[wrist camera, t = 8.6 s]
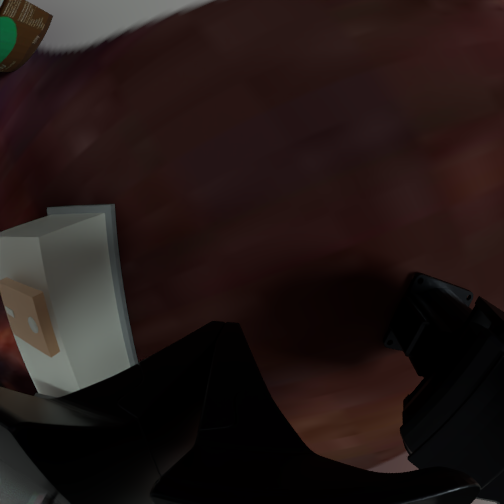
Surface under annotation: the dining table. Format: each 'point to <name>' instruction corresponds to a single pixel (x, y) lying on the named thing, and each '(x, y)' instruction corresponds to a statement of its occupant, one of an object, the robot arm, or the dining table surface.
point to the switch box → (73, 295)
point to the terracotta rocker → (29, 315)
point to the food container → (20, 32)
